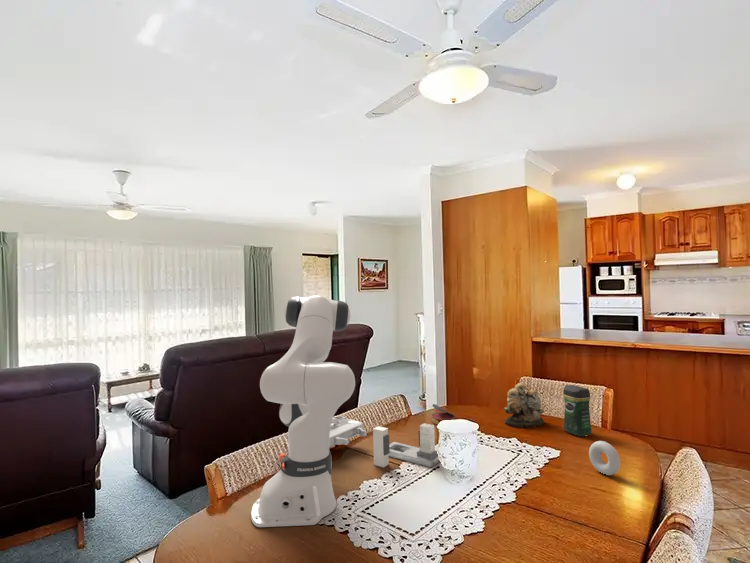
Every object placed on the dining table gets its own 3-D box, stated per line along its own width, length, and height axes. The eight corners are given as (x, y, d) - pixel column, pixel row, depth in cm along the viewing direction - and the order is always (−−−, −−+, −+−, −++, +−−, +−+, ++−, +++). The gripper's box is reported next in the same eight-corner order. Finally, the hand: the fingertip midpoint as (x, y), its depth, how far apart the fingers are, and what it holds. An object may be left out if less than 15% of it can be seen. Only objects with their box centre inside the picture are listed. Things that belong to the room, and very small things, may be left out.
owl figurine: (512, 430, 173) (510, 388, 173) (497, 421, 184) (496, 382, 184) (551, 425, 177) (549, 384, 177) (534, 417, 188) (532, 379, 188)
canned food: (433, 431, 187) (430, 408, 192) (456, 429, 185) (453, 405, 190) (431, 426, 177) (429, 402, 182) (456, 424, 176) (452, 400, 181)
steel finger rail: (381, 454, 150) (380, 420, 150) (394, 447, 156) (393, 414, 157) (431, 467, 138) (430, 430, 138) (442, 459, 144) (441, 424, 145)
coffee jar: (595, 435, 164) (594, 387, 164) (579, 438, 161) (578, 389, 161) (576, 428, 173) (574, 382, 173) (560, 430, 170) (559, 384, 170)
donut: (623, 479, 127) (622, 446, 127) (615, 481, 125) (614, 448, 126) (594, 466, 136) (593, 435, 136) (586, 468, 135) (585, 437, 135)
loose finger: (373, 464, 141) (373, 428, 141) (379, 461, 144) (378, 426, 144) (385, 467, 139) (384, 431, 139) (390, 464, 141) (389, 428, 141)
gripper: (307, 429, 147) (337, 437, 139) (345, 415, 164) (374, 421, 155) (307, 448, 147) (337, 456, 139) (345, 431, 164) (374, 438, 155)
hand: (357, 437), depth 147 cm, fingers open, 8 cm apart
